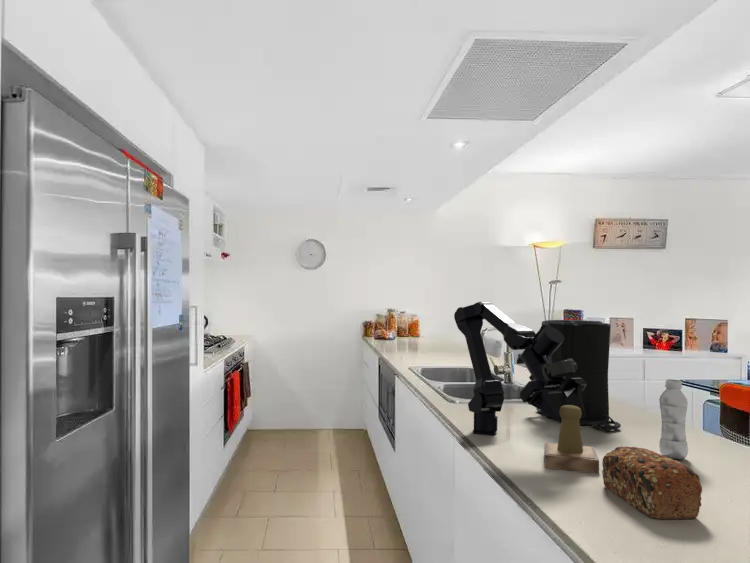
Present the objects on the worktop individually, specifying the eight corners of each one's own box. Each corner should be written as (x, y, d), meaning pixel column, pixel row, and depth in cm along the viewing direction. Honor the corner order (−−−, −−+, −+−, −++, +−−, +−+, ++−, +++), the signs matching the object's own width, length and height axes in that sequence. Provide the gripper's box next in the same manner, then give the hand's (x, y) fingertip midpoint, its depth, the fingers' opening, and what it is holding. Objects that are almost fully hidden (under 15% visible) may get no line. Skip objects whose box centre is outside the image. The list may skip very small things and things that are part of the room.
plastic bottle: (678, 463, 136) (678, 383, 137) (653, 455, 142) (653, 379, 143) (693, 460, 139) (694, 381, 140) (669, 453, 145) (669, 377, 146)
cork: (580, 455, 131) (580, 409, 131) (554, 450, 134) (555, 406, 134) (585, 449, 136) (585, 405, 136) (560, 445, 139) (560, 402, 139)
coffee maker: (561, 407, 204) (562, 317, 205) (646, 425, 177) (646, 321, 178) (521, 414, 191) (522, 318, 192) (606, 434, 164) (607, 322, 165)
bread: (703, 521, 101) (703, 467, 101) (648, 521, 100) (648, 467, 101) (646, 485, 120) (646, 440, 120) (599, 486, 119) (599, 440, 119)
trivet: (545, 467, 131) (545, 454, 131) (544, 454, 142) (544, 441, 142) (599, 473, 127) (599, 459, 127) (593, 458, 139) (593, 446, 139)
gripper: (528, 349, 136) (561, 402, 126) (581, 347, 144) (616, 396, 134) (506, 376, 142) (536, 428, 132) (558, 372, 151) (590, 421, 141)
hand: (571, 417), depth 135 cm, fingers open, 9 cm apart
